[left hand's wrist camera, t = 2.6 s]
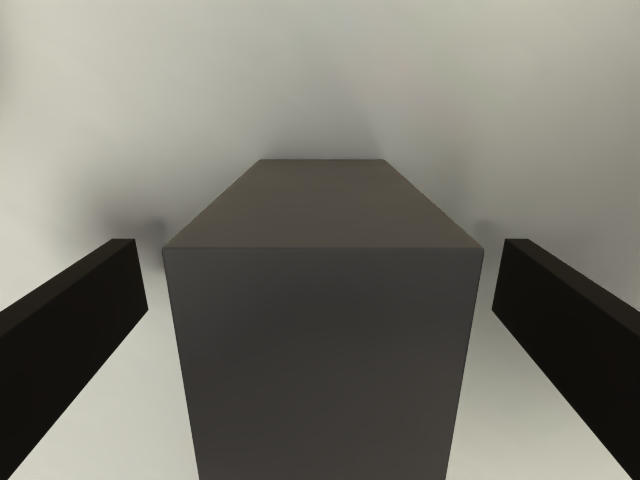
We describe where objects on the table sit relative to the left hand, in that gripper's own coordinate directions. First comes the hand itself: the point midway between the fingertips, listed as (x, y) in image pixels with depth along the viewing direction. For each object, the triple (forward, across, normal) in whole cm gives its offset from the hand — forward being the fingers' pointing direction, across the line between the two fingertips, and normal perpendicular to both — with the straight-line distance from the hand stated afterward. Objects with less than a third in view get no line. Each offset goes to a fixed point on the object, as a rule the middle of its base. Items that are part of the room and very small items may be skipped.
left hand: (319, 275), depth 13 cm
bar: (+2, 0, -8) cm, 9 cm away
